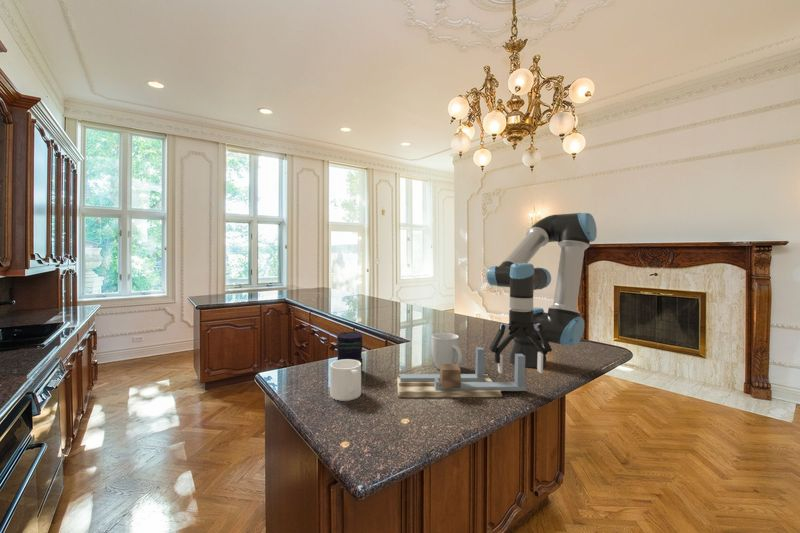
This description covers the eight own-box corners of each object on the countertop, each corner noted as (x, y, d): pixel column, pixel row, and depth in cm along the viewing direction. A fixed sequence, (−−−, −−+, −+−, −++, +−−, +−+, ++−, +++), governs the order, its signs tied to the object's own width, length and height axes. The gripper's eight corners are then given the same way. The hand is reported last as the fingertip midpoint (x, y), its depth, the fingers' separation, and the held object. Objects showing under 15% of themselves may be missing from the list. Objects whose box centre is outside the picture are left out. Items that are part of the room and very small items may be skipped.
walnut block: (457, 381, 121) (457, 364, 121) (460, 388, 115) (460, 370, 115) (439, 381, 121) (439, 364, 121) (442, 388, 115) (442, 370, 115)
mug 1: (325, 393, 117) (325, 362, 117) (352, 386, 123) (352, 357, 122) (342, 407, 107) (342, 373, 106) (370, 399, 113) (370, 367, 112)
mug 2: (471, 372, 138) (471, 339, 137) (449, 377, 132) (450, 343, 131) (446, 361, 150) (446, 331, 150) (425, 366, 144) (425, 334, 144)
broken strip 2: (482, 377, 129) (482, 346, 128) (485, 381, 125) (485, 350, 124) (452, 377, 128) (452, 346, 128) (454, 381, 124) (454, 350, 124)
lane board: (488, 378, 131) (488, 374, 131) (502, 396, 115) (502, 391, 115) (397, 379, 130) (397, 374, 130) (397, 397, 114) (397, 391, 114)
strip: (521, 386, 121) (522, 353, 120) (525, 390, 117) (526, 356, 116) (434, 386, 120) (434, 353, 120) (435, 391, 116) (436, 357, 116)
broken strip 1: (441, 377, 128) (441, 374, 128) (442, 381, 124) (442, 378, 124) (400, 377, 128) (400, 374, 128) (400, 382, 124) (400, 378, 124)
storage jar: (367, 373, 136) (367, 334, 136) (347, 379, 129) (347, 339, 128) (351, 367, 143) (351, 330, 142) (331, 373, 136) (331, 334, 135)
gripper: (553, 307, 122) (551, 368, 123) (481, 307, 121) (480, 368, 122) (563, 311, 114) (562, 375, 115) (487, 311, 114) (486, 376, 115)
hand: (519, 372), depth 119 cm, fingers open, 13 cm apart
